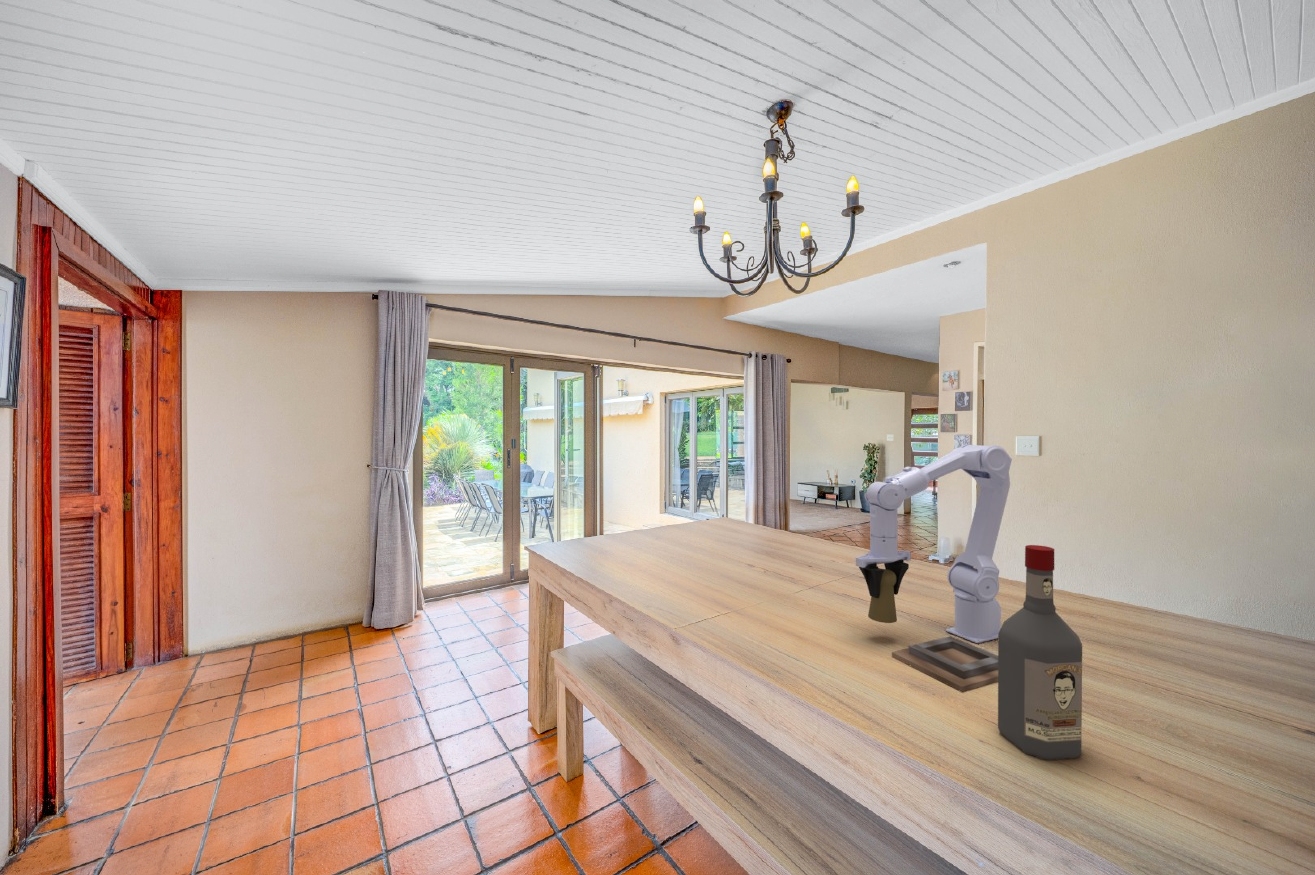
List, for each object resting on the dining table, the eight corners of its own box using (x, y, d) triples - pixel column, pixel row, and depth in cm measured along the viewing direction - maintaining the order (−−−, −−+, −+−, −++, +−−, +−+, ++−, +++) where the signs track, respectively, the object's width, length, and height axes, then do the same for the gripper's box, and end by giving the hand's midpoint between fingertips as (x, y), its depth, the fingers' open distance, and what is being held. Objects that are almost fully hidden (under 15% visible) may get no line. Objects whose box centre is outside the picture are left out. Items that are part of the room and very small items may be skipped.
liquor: (989, 726, 84) (989, 542, 83) (1041, 723, 85) (1042, 540, 84) (1034, 763, 75) (1035, 556, 74) (1093, 759, 76) (1094, 554, 75)
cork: (900, 624, 114) (902, 574, 114) (871, 621, 115) (873, 572, 115) (892, 614, 120) (894, 567, 120) (865, 612, 121) (866, 565, 121)
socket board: (952, 642, 117) (952, 631, 116) (1026, 673, 102) (1026, 660, 102) (891, 656, 110) (891, 644, 110) (962, 692, 95) (962, 678, 95)
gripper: (893, 529, 124) (893, 586, 124) (845, 535, 118) (846, 594, 119) (918, 535, 117) (918, 594, 118) (869, 541, 112) (869, 603, 112)
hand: (883, 595), depth 118 cm, fingers closed on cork, 5 cm apart
